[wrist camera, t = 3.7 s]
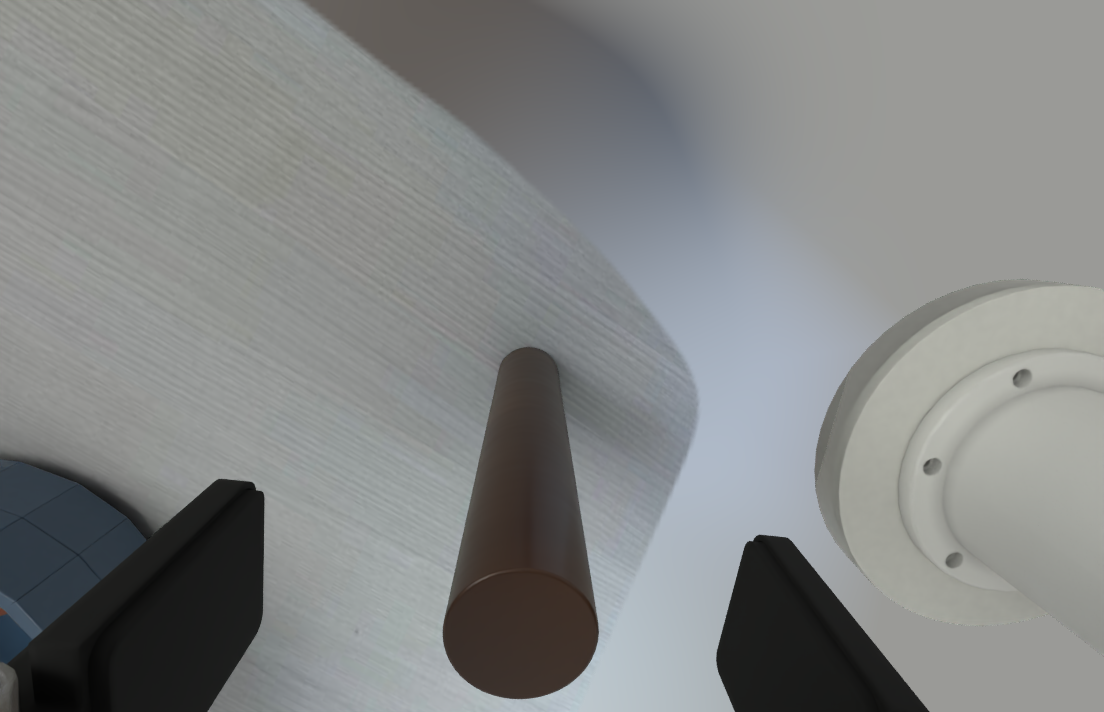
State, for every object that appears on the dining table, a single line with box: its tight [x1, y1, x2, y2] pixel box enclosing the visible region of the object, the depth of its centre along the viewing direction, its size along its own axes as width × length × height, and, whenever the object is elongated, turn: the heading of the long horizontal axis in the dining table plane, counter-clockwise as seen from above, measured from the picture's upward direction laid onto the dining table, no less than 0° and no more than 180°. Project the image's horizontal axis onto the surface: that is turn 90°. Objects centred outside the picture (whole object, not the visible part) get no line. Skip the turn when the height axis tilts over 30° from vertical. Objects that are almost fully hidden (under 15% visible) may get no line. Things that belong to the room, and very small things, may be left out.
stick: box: [443, 347, 599, 699], centre depth 16 cm, size 3×3×15 cm
